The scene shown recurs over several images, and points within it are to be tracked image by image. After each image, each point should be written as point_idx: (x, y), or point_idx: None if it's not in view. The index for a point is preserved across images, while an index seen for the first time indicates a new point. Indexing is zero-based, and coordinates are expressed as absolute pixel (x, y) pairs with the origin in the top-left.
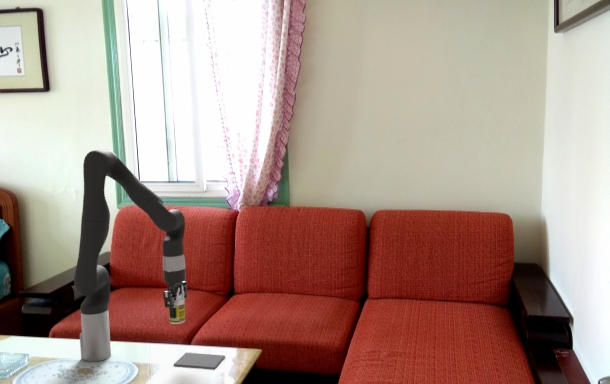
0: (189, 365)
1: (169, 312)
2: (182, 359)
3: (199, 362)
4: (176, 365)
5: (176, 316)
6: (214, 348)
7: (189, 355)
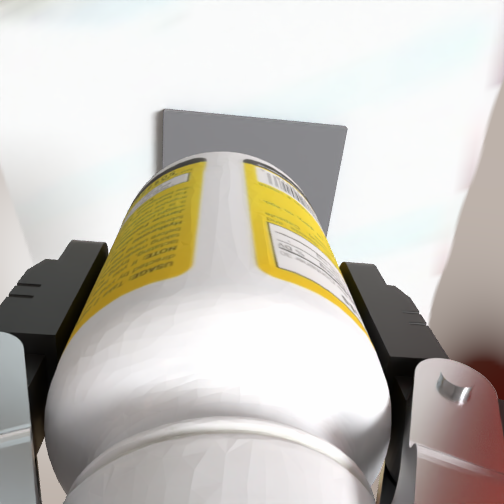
0: None
1: (46, 278)
2: (238, 143)
3: None
4: (165, 128)
5: None
6: (423, 261)
7: (301, 165)
